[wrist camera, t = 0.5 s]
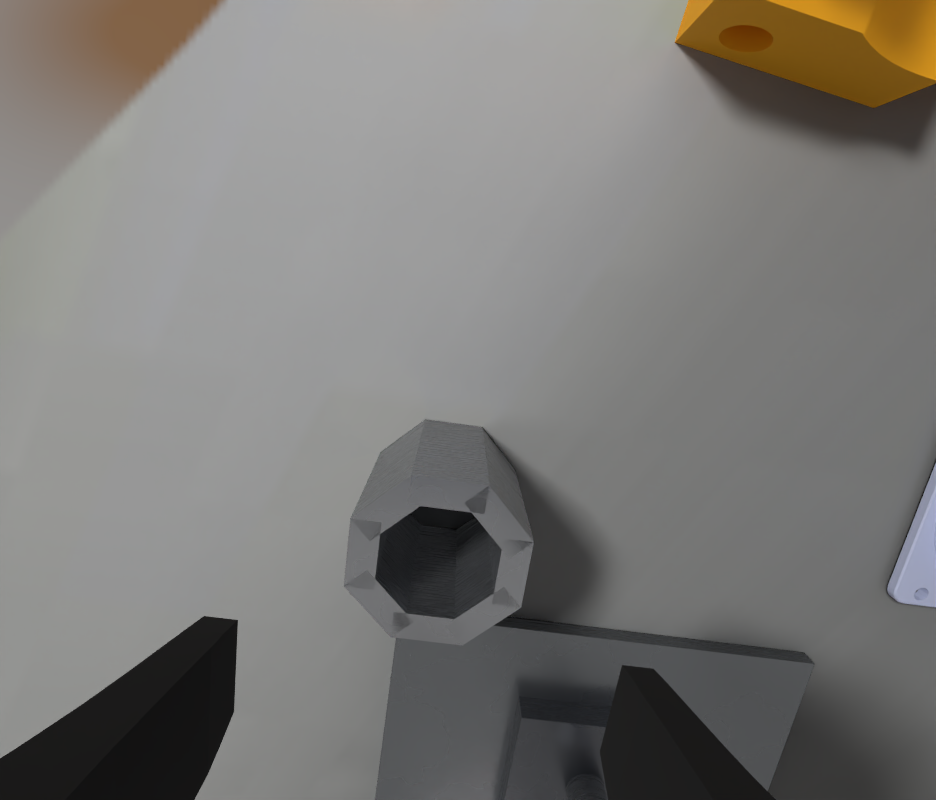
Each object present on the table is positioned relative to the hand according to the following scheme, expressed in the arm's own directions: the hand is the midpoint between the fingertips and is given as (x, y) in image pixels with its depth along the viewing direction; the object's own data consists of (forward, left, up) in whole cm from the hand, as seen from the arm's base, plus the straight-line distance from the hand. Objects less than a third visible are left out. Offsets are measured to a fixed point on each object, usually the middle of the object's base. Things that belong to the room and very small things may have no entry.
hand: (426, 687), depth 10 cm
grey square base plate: (-7, +11, -9) cm, 16 cm away
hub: (0, 0, -9) cm, 9 cm away
